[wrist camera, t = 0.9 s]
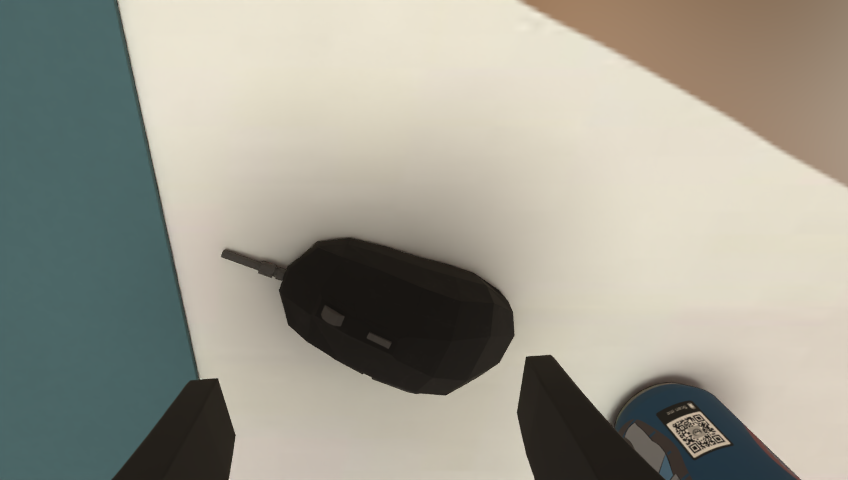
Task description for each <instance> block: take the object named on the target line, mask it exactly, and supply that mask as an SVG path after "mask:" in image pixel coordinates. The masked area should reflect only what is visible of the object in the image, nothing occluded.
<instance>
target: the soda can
mask: <svg viewBox="0 0 848 480" xmlns="http://www.w3.org/2000/svg"><path fill="white" fill-rule="evenodd" d="M615 429H616V431H617V432H618V433H619V434H620V435H621V436H622V437H623V438H624V439H625V440H626V441H627V442H628V443H629V444H630V445H631V446H632V447H633V448H634V449H635V450H636V451H637V452H638V453H639V454H640V455H641V456H642V457H643V458H644V459H645V460H646V461H647V462H648V463H649V464H650V465H651V466H652V467H653V468H654V469H655V470H656V471H657V472H658V473H659V474H660V475H661V476H662V477H663V478H665V479H666V480H801V479H800V478H799V477H798V476H797V475H796V474H795V473H794V472H793V471H791V470H790V469H789V468H788V467H787V466H786V465H785V464H784V463H783V462H782V461H781V460H780V459H779V458H778V457H777V456H776V455H775V454H774V453H773V452H772V451H771V450H770V449H769V448H768V447H767V446H766V445H765V444H764V443H763V442H762V441H761V440H759V439H758V438H757V437H756V436H755V435H754V434H753V433H752V432H751V431H750V430H749V429H748V428H747V427H746V426H745V425H744V424H743V423H742V422H741V421H740V420H739V419H738V418H737V417H736V416H735V415H734V414H733V413H732V412H731V411H730V410H729V409H727V408H726V407H725V406H724V405H723V404H722V403H721V402H720V401H719V400H718V399H717V398H716V397H715V396H714V395H712V394H711V393H709V392H707V391H705V390H703V389H700V388H696V387H692V386H688V385H682V384H677V383H663V384H658V385H654V386H651V387H649V388H646V389H644V390H643V391H641V392H639V393H638V394H636V395H635V396H634V397H632V398H631V399H630V400H629V401H628V402H627V403H626V404H625V405H624V407H623V408H622V410H621V411H620V413H619V415H618V417H617V420H616V424H615Z"/></svg>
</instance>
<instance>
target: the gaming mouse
mask: <svg viewBox="0 0 848 480" xmlns="http://www.w3.org/2000/svg"><path fill="white" fill-rule="evenodd" d="M221 257H223V258H225V259H228V260H231V261H234V262H236V263H239V264H242V265H245V266H248V267H250V268H253V269H256V270H258V273H259V274H262V275H265V276H268V277H270V278H272V276H274V277H275V278H276V279H278V280H281V281H282V280H283V281H282V283H281V286H280V289H279V292H280V296H281V300H282V303H283V307H284V310H285V314H286V318H287V322H288V325H289V326H290V327H291V328H292V329H294V330H295V331H296V332H297V333H298V334H299V335H300V336H301V337H302V338H304V339H305V340H306V341H307V342H308V343H310V344H312V345H313V346H315V347H317V348H318V349H320V350H321V351H323V352H325V353H326V354H328V355H329V356H331V357H332V358H334V359H335V360H337V361H339V362H341V363H342V364H344V365H346V366H348V367H350V368H352V369H354V370H356V371H357V372H359V373H361V374H363V373H364V374H366V375H368V376H370V377H372V379H373V380H376V381H379V382H381V383H384V384H387V385H390V386H392V387H395V388H398V389H400V390H403V391H406V392H409V393H414V394H419V393H422V394H434V395H447V394H449V393H451V392H453V391H454V390H456V389H458V388H460V387H461V386H463V385H465V384H467V383H469V382H470V381H472V380H474V379H476V378H477V377H479V376H480V375H482V374H483V373H485V372H486V371H488V370H489V369H491V368H492V367H494V366H495V365H497V364H498V363H499V362H500V361H501V359H502V357H503V355H504V353H505V352H506V350H507V348H508V346H509V344H510V342H511V341H512V339H513V337H514V322H513V311H512V309H511V307H510V304H509V302H508V300H507V299H506V298H505V297H504V296H503V295H502V293H501V292H500V291H499V290H498V289H496V288H495V287H493V286H492V285H490V284H489V283H488V282H486V281H485V280H483V279H482V278H480V277H479V276H477V275H476V274H474V273H472V272H469V271H466V270H463V269H460V268H457V267H454V266H451V265H447V264H444V263H440V262H436V261H432V260H428V259H424V258H421V257H417V256H414V255H411V254H408V253H404V252H401V251H398V250H395V249H391V248H388V247H385V246H381V245H377V244H373V243H369V242H365V241H361V240H357V239H353V238H346V239H337V240H327V241H318V242H317V243H315V244H314V245H313V246H312V247H311V248H310V249H309V250H308V251H307V252H305V253H304V254H303V255H302V256H301V257H300V258H298V259H297V260H296V261H294V262H293V263H291V264H290V265H289V266H288V267H287V270H286V269H283V268H276V265H274V264H271V263H268V262H265V261H263V262H262V263H261V262H258V261H255V260H252V259H250V258H247V257H244V256H241V255H239V254H236V253H233V252H230V251H228V250H224V251H223V253H222V255H221Z"/></svg>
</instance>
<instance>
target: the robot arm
mask: <svg viewBox="0 0 848 480" xmlns="http://www.w3.org/2000/svg"><path fill="white" fill-rule="evenodd" d="M517 415H518V420H519V424H520V429H521V434H522V438H523V442H524V446H525V451H526V455H527V458H528V461H529V464H530V467H531V469H532V472H533V475H534V478H535V480H666V479H665V478H663V477H662V476H661V475H660V474H659V473H658V472H657V471H656V470H655V469H654V468H653V467H652V466H651V465H650V464H649V463H648V462H647V461H646V460H645V459H644V458H643V457H642V456H641V455H640V454H639V453H638V452H637V451H636V450H635V449H634V448H633V447H632V446H631V445H630V444H629V443H628V442H627V441H626V440H625V439H624V438H623V437H622V436H621V435H620V434H619V433H618V432H617V431H616V429H615V428H614V427H613V426H612V425H611V424H610V423H609V422H608V421H607V420H606V419H605V417H604V416H603V415H602V414H601V413H600V412H599V411H598V410H597V409H596V407H595V406H594V405H593V404H592V403H591V402H590V401H589V399H588V398H587V397H586V396H585V395H584V394H583V392H582V391H581V390H580V389H579V388H578V386H577V385H576V384H575V383H574V382H573V380H572V379H571V378H570V377H569V376H568V374H567V373H566V372H565V371H564V369H563V368H562V367H561V366H560V365H559V363H558V362H557V361H556V360H555V358H554V357H553V356H551V355H542V356H528V357H526V360H525V366H524V373H523V379H522V385H521V391H520V397H519V403H518V410H517ZM235 436H236V435H235V432H234V429H233V426H232V423H231V419H230V416H229V413H228V410H227V406H226V403H225V400H224V397H223V394H222V390H221V387H220V384H219V381H218V378H216V379H202V380H190V381H189V382H188V383H187V384H186V385H185V387H184V388H183V389H182V391H181V392H180V393H179V395H178V396H177V397H176V399H175V400H174V401H173V403H172V404H171V405H170V407H169V408H168V409H167V411H166V412H165V413H164V415H163V416H162V417H161V418H160V420H159V421H158V422H157V424H156V425H155V426H154V428H153V429H152V430H151V431H150V433H149V434H148V435H147V437H146V438H145V439H144V440H143V442H142V443H141V444H140V445H139V447H138V448H137V449H136V450H135V451H134V453H133V454H132V455H131V456H130V458H129V459H128V460H127V461H126V463H125V464H124V465H123V466H122V468H121V469H120V470H119V471H118V472H117V474H116V475H115V476H114V477H113V478H112V479H111V480H229V474H230V468H231V462H232V456H233V449H234V442H235Z"/></svg>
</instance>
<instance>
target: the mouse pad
mask: <svg viewBox="0 0 848 480" xmlns="http://www.w3.org/2000/svg"><path fill="white" fill-rule="evenodd" d="M190 380H199V377H198V373H197V368H196V363H195V359H194V354H193V350H192V345H191V341H190V336H189V331H188V327H187V322H186V318H185V313H184V308H183V304H182V299H181V295H180V290H179V285H178V281H177V276H176V272H175V267H174V262H173V258H172V253H171V249H170V244H169V239H168V235H167V230H166V226H165V221H164V217H163V212H162V207H161V203H160V198H159V194H158V189H157V184H156V180H155V175H154V171H153V166H152V161H151V157H150V152H149V148H148V143H147V138H146V134H145V129H144V125H143V120H142V115H141V111H140V106H139V102H138V97H137V93H136V88H135V83H134V79H133V74H132V70H131V65H130V60H129V56H128V51H127V47H126V42H125V37H124V33H123V28H122V24H121V19H120V14H119V10H118V5H117V1H116V0H0V480H111V479H112V478H113V477H114V476H115V475H116V474H117V472H118V471H119V470H120V469H121V468H122V466H123V465H124V464H125V463H126V461H127V460H128V459H129V458H130V456H131V455H132V454H133V453H134V451H135V450H136V449H137V448H138V447H139V445H140V444H141V443H142V442H143V440H144V439H145V438H146V437H147V435H148V434H149V433H150V431H151V430H152V429H153V428H154V426H155V425H156V424H157V422H158V421H159V420H160V418H161V417H162V416H163V415H164V413H165V412H166V411H167V409H168V408H169V407H170V405H171V404H172V403H173V401H174V400H175V399H176V397H177V396H178V395H179V393H180V392H181V391H182V389H183V388H184V387H185V385H186V384H187V383H188V382H189V381H190Z"/></svg>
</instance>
